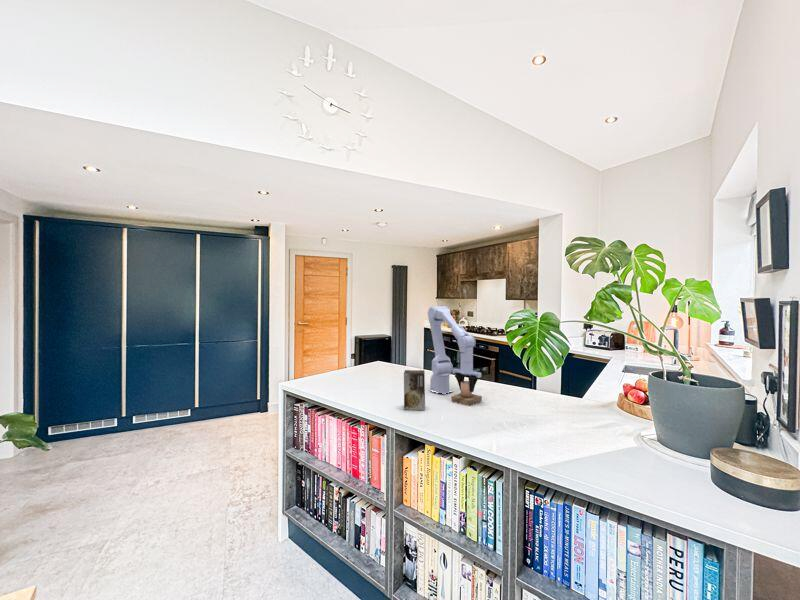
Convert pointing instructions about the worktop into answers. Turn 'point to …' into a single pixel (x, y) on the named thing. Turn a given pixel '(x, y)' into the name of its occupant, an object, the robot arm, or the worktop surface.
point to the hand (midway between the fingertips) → (466, 390)
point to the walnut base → (466, 399)
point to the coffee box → (414, 390)
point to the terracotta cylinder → (465, 389)
